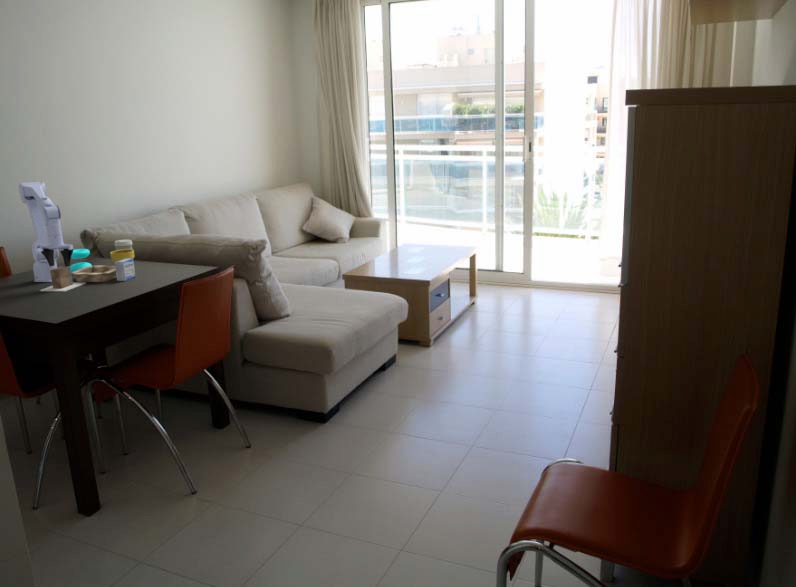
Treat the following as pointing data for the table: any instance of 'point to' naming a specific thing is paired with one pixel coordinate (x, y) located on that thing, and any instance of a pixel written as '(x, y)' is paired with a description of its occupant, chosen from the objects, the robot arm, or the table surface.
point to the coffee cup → (123, 244)
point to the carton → (95, 273)
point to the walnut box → (61, 277)
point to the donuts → (77, 255)
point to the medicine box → (125, 269)
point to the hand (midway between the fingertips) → (59, 266)
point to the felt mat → (75, 284)
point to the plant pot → (122, 254)
